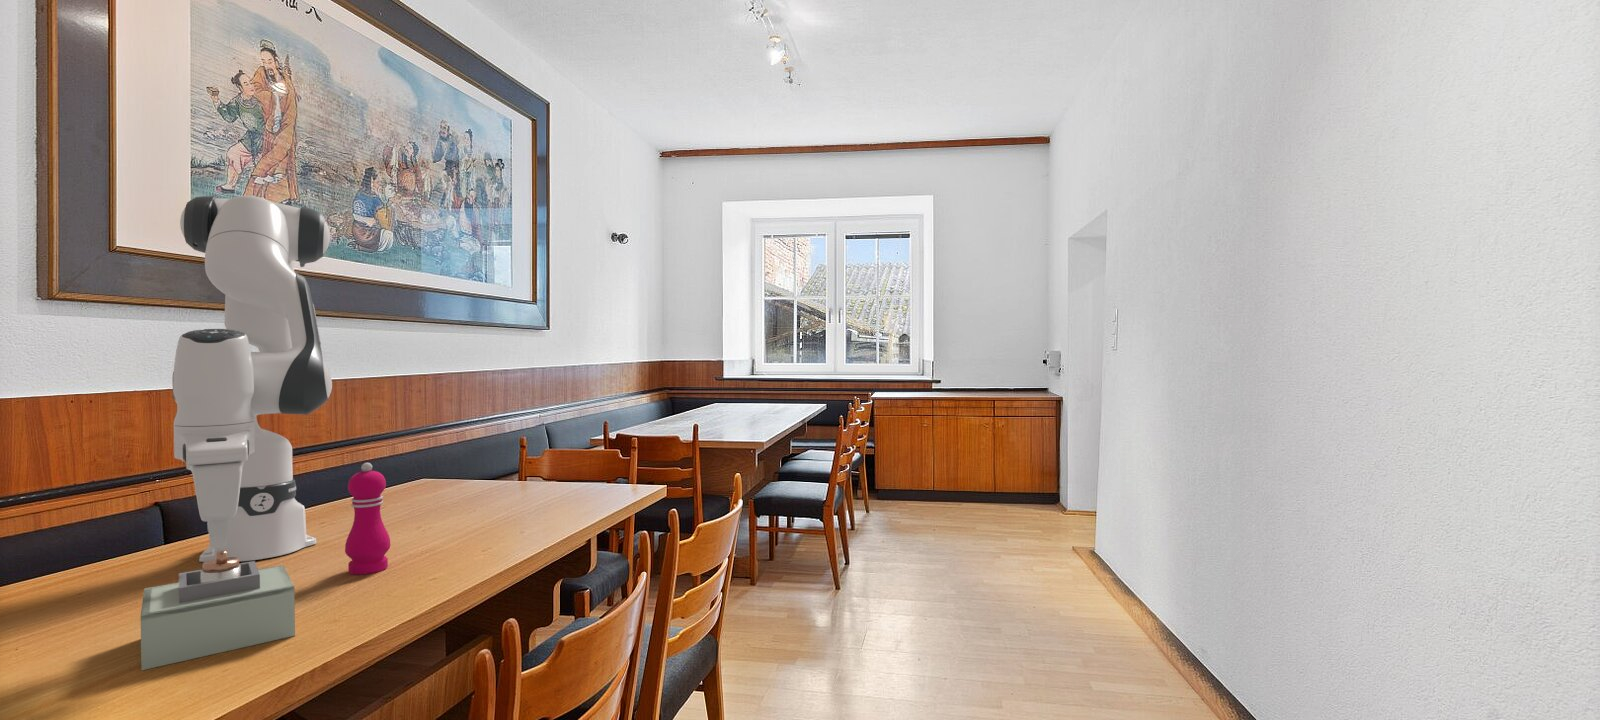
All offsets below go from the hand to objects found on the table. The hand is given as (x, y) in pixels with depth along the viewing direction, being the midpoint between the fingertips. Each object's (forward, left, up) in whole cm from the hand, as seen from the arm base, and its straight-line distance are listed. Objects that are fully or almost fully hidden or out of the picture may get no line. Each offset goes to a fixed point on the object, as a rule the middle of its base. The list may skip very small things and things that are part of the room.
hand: (216, 539), depth 100 cm
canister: (+1, 0, -13) cm, 13 cm away
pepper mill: (-21, +22, -14) cm, 33 cm away
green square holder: (0, 0, -14) cm, 14 cm away
